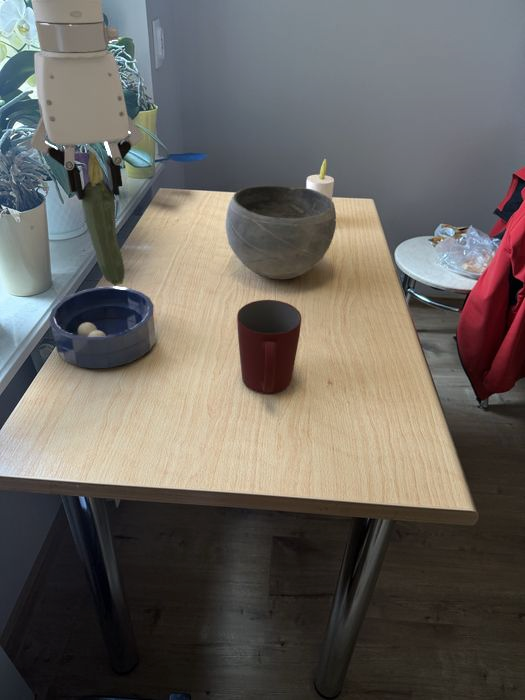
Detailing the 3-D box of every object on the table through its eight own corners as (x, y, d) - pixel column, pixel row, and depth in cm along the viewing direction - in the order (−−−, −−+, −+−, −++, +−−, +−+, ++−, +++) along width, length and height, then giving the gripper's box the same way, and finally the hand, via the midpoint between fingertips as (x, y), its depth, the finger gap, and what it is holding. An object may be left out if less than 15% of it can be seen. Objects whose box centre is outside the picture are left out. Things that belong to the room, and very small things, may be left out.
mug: (299, 413, 74) (305, 348, 67) (236, 412, 73) (235, 347, 67) (294, 360, 83) (299, 300, 77) (237, 360, 83) (237, 299, 76)
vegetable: (123, 295, 79) (101, 158, 67) (94, 294, 79) (67, 158, 67) (130, 280, 83) (110, 148, 71) (102, 280, 83) (78, 148, 71)
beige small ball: (103, 328, 85) (97, 344, 84) (89, 328, 87) (83, 344, 85) (92, 318, 83) (85, 335, 82) (77, 319, 84) (70, 335, 83)
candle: (298, 219, 130) (302, 157, 121) (320, 215, 132) (326, 153, 124) (311, 229, 125) (317, 164, 117) (334, 224, 128) (341, 161, 119)
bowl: (342, 293, 101) (352, 218, 92) (232, 299, 98) (231, 222, 89) (316, 246, 118) (322, 178, 109) (221, 250, 115) (220, 181, 106)
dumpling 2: (95, 343, 80) (90, 326, 81) (86, 352, 82) (81, 335, 83) (112, 344, 82) (108, 327, 83) (103, 353, 84) (99, 336, 85)
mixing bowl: (65, 382, 77) (57, 349, 74) (50, 328, 89) (43, 297, 85) (168, 357, 83) (165, 325, 80) (142, 309, 94) (138, 279, 91)
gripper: (136, 35, 67) (149, 179, 78) (-8, 37, 61) (29, 193, 72) (152, 42, 62) (164, 195, 73) (-3, 45, 56) (35, 212, 67)
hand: (97, 192), depth 72 cm, fingers closed on vegetable, 4 cm apart
